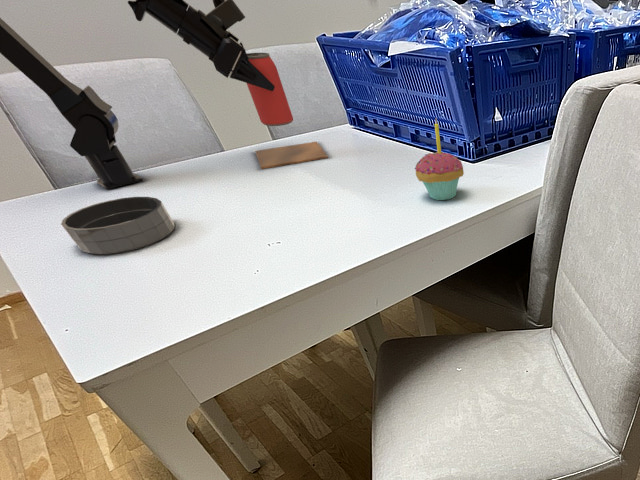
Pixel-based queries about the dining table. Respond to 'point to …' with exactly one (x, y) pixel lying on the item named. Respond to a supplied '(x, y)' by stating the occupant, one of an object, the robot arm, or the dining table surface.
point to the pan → (119, 225)
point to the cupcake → (439, 172)
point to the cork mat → (290, 155)
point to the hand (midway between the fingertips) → (272, 86)
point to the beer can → (269, 93)
